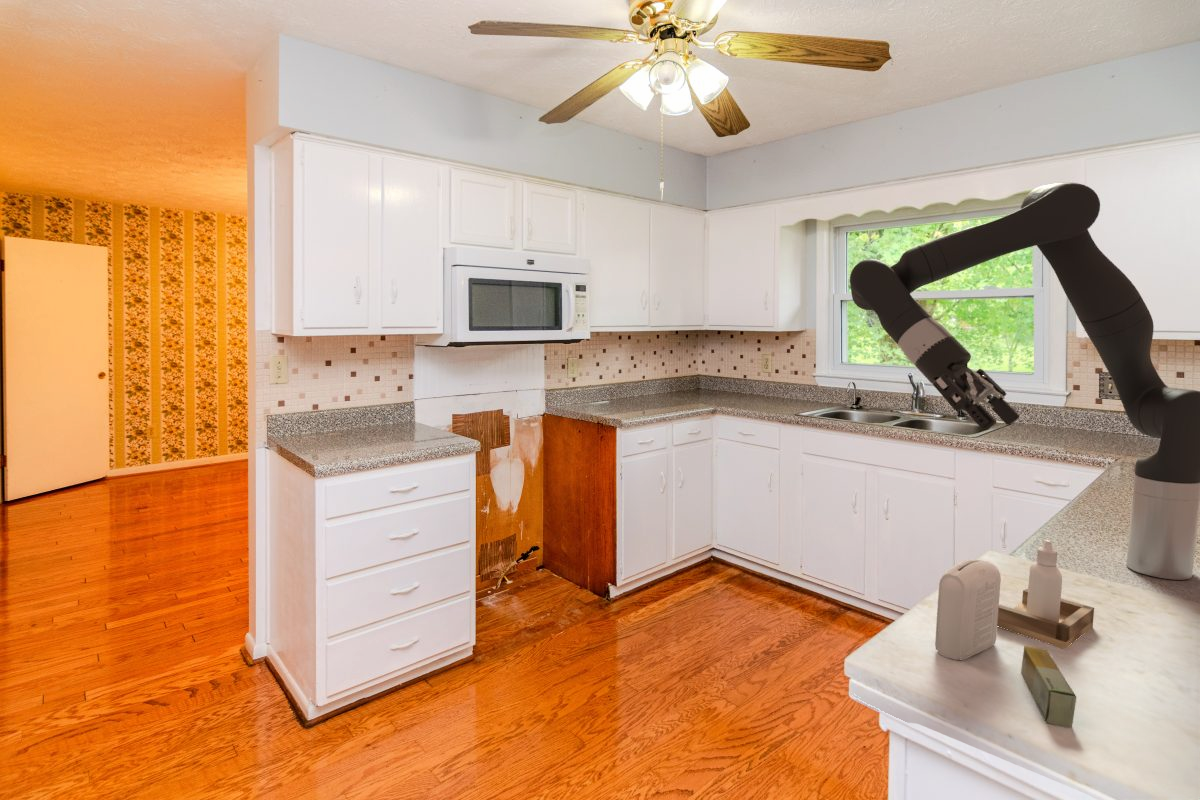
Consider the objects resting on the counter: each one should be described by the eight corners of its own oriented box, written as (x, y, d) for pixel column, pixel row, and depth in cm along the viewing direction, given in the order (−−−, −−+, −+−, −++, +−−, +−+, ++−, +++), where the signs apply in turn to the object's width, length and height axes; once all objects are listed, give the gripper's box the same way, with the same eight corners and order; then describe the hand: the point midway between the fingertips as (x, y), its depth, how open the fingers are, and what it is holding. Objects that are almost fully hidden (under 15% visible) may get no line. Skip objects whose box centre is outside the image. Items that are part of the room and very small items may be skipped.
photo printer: (969, 633, 97) (975, 550, 95) (1000, 644, 93) (1006, 559, 92) (929, 652, 91) (934, 564, 90) (961, 665, 88) (967, 574, 86)
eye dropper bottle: (1062, 617, 99) (1068, 539, 98) (1057, 630, 95) (1063, 549, 94) (1028, 609, 102) (1033, 533, 101) (1021, 621, 98) (1027, 542, 97)
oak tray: (1024, 607, 106) (1026, 588, 105) (1092, 627, 98) (1094, 607, 98) (994, 626, 99) (996, 606, 99) (1065, 649, 92) (1066, 628, 91)
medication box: (1074, 730, 74) (1078, 696, 73) (1045, 725, 75) (1049, 691, 74) (1043, 677, 85) (1047, 647, 85) (1019, 673, 86) (1022, 643, 85)
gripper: (928, 336, 107) (1003, 413, 99) (969, 333, 116) (1040, 405, 108) (895, 367, 112) (964, 444, 104) (937, 363, 120) (1003, 433, 113)
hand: (1003, 424), depth 106 cm, fingers open, 8 cm apart
